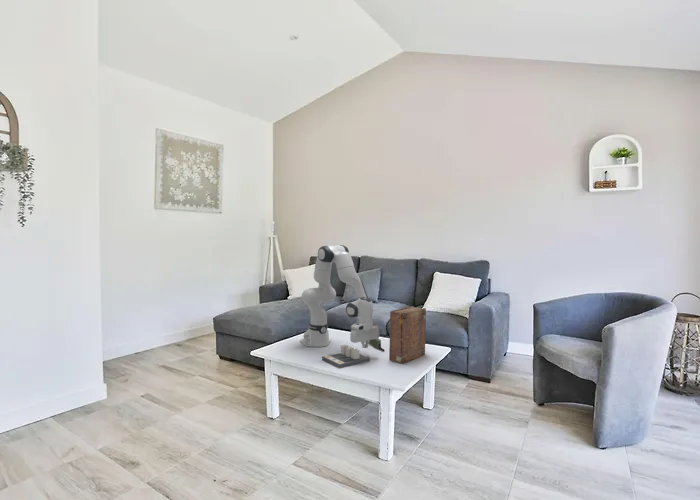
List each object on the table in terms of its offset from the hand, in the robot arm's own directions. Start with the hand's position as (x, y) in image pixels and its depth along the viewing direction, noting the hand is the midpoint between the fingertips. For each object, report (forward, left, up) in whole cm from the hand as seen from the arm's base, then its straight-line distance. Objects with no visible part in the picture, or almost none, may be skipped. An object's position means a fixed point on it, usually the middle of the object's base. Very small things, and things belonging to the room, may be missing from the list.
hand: (365, 347), depth 233 cm
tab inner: (-11, -7, -5) cm, 14 cm away
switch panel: (-6, -10, -8) cm, 14 cm away
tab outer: (0, -7, -5) cm, 9 cm away
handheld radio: (-18, +23, -8) cm, 31 cm away
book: (+11, +25, -8) cm, 28 cm away
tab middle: (-6, -7, -5) cm, 11 cm away
